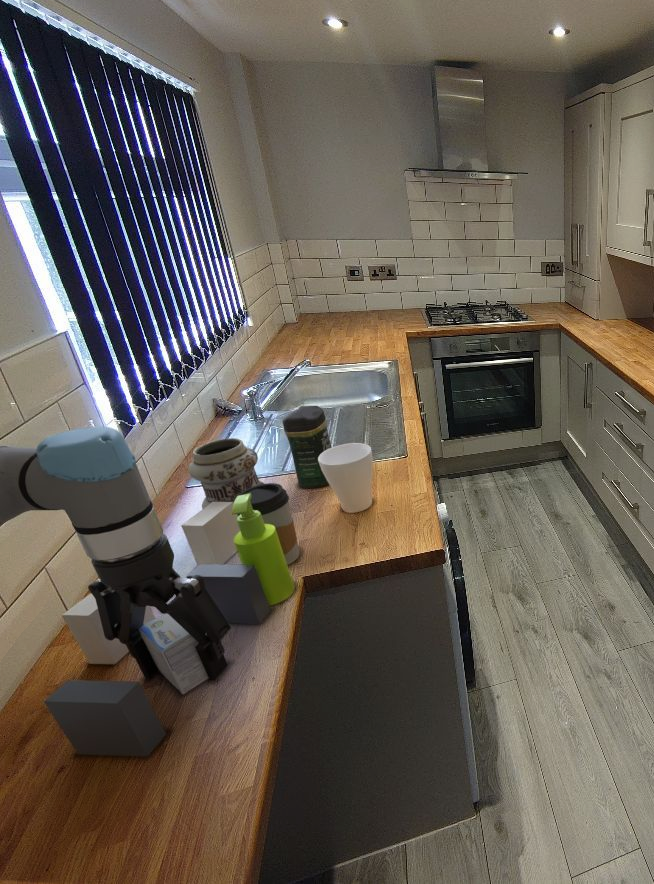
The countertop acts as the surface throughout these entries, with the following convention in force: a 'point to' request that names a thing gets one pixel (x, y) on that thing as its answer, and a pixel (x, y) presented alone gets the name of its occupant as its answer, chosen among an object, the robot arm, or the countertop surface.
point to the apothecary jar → (224, 469)
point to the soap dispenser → (262, 550)
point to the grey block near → (106, 717)
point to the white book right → (212, 533)
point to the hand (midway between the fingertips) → (187, 672)
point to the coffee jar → (307, 444)
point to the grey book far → (235, 591)
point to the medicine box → (174, 652)
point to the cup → (349, 474)
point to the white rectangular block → (96, 632)
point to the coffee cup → (276, 515)
